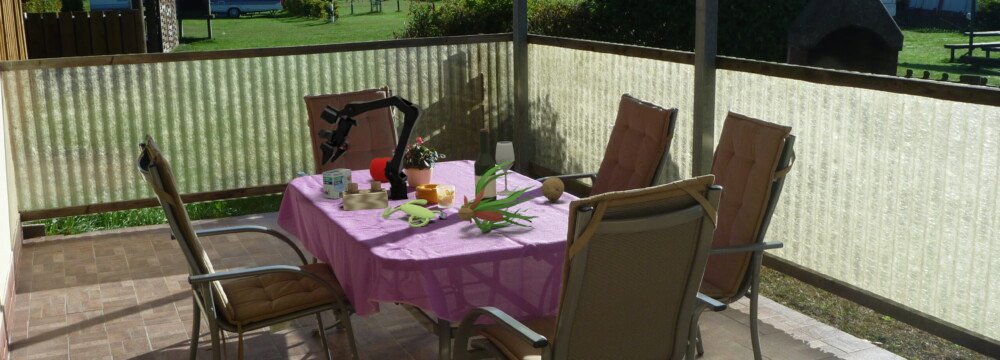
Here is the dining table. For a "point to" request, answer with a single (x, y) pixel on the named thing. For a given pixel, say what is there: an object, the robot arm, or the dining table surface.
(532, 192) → the dining table surface
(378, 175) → the tomato
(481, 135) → the wine bottle
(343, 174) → the light bulb box
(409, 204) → the figurine
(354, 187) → the peg
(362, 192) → the birch block
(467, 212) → the decorative plant
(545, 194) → the coconut
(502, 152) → the wineglass
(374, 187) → the peg
